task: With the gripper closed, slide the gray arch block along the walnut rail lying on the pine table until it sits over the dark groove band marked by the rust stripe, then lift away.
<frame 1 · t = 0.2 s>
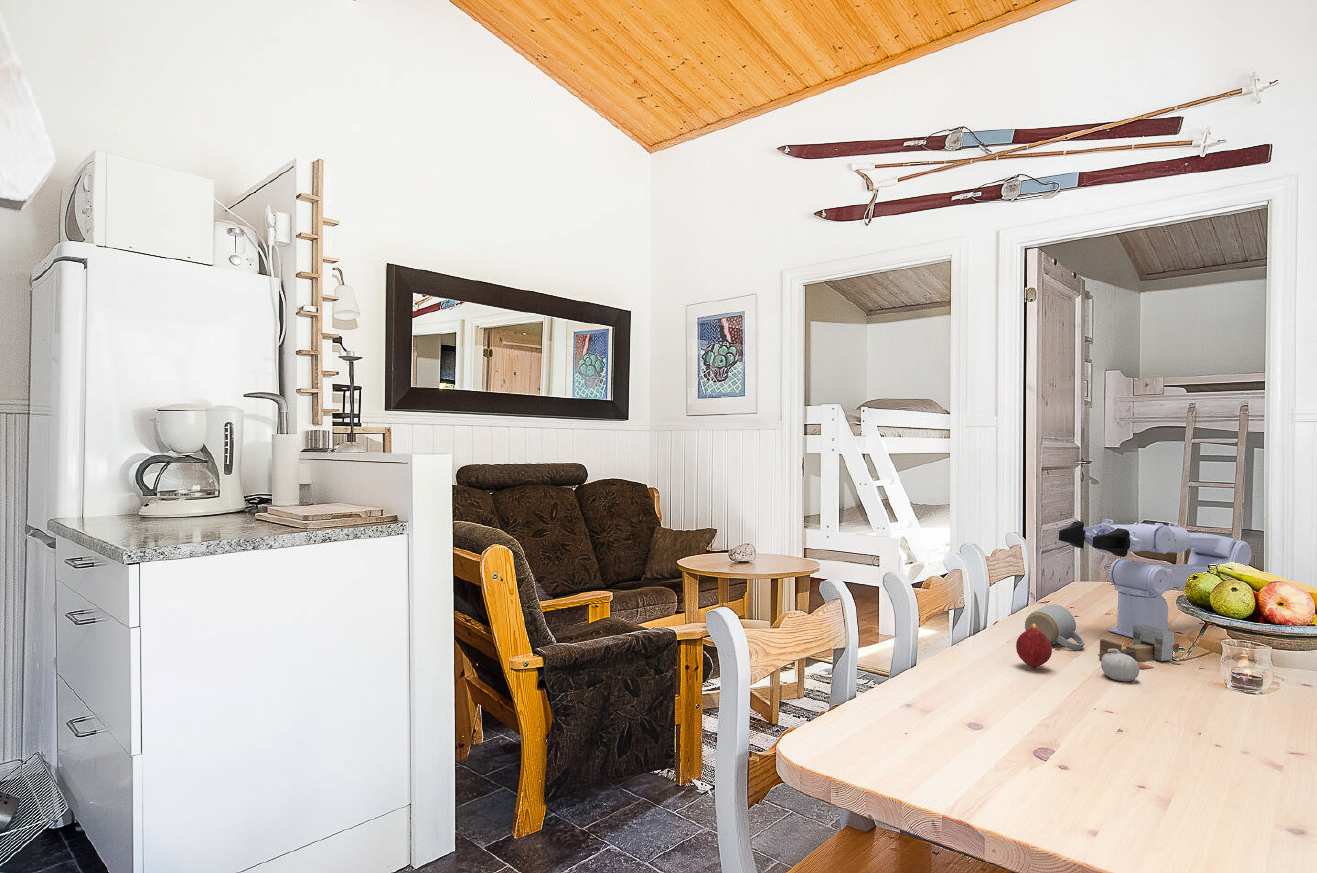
hand: (1076, 538, 155), 21 cm above the table, fingers open, 7 cm apart
gray arch block: (1152, 642, 146), point 3 cm above the table, slide at 0.0 cm
rail: (1143, 659, 145), on the table
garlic: (1118, 680, 133), on the table
onion: (1033, 669, 137), on the table
ceramic mug: (1055, 645, 154), on the table
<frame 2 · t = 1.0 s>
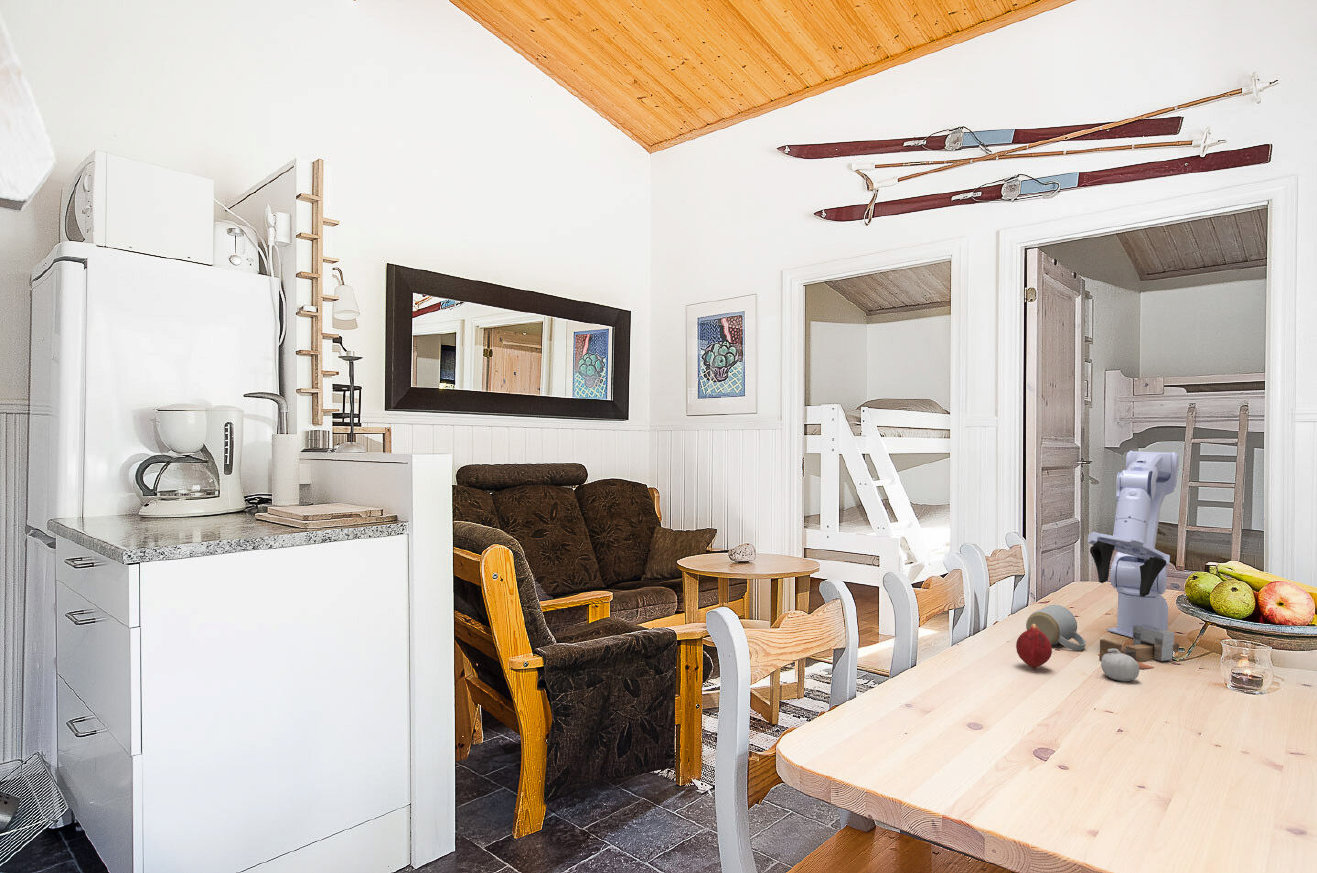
hand: (1123, 588, 147), 13 cm above the table, fingers open, 7 cm apart
nothing on the table moved.
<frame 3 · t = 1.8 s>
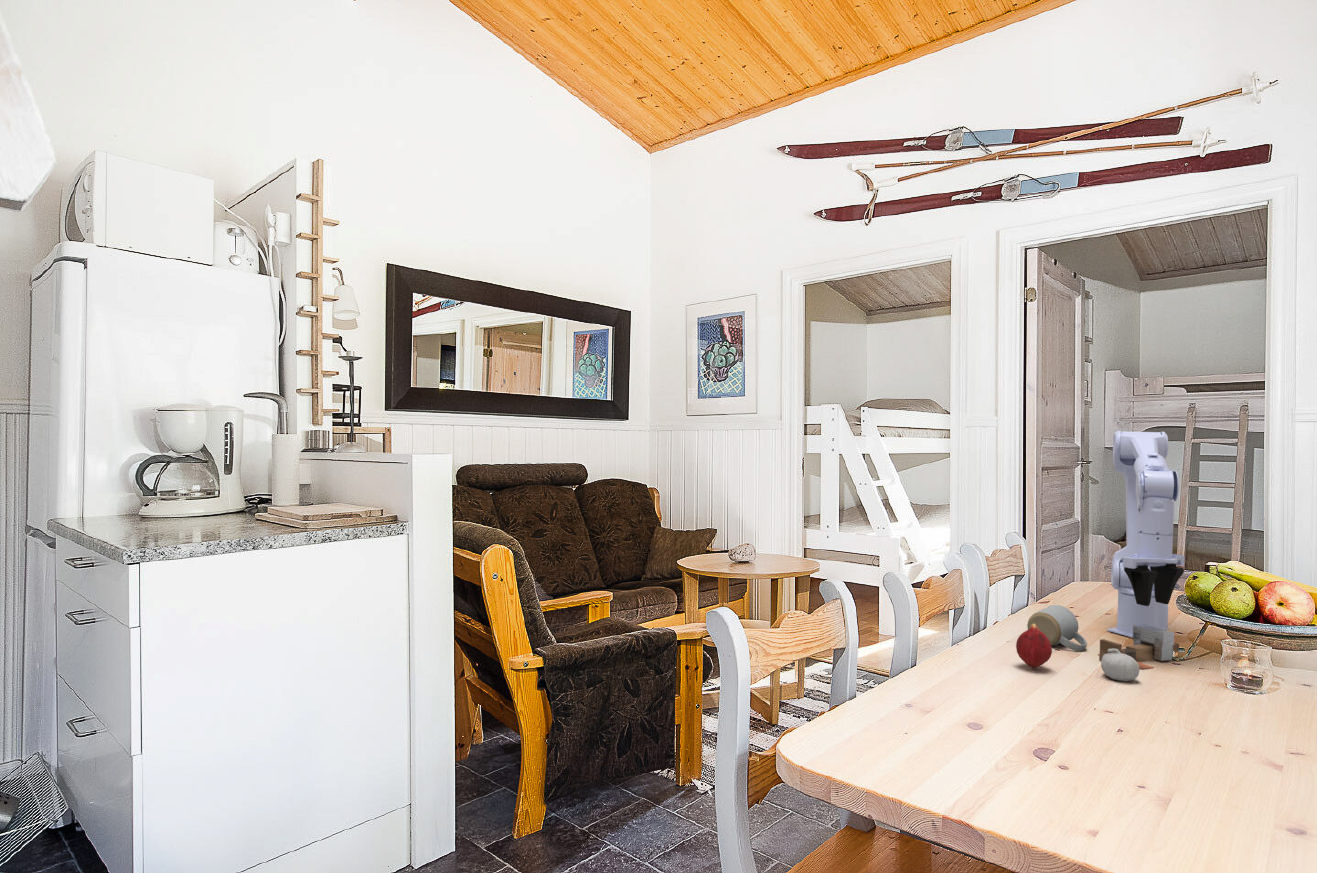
hand: (1152, 604, 146), 10 cm above the table, fingers open, 5 cm apart
nothing on the table moved.
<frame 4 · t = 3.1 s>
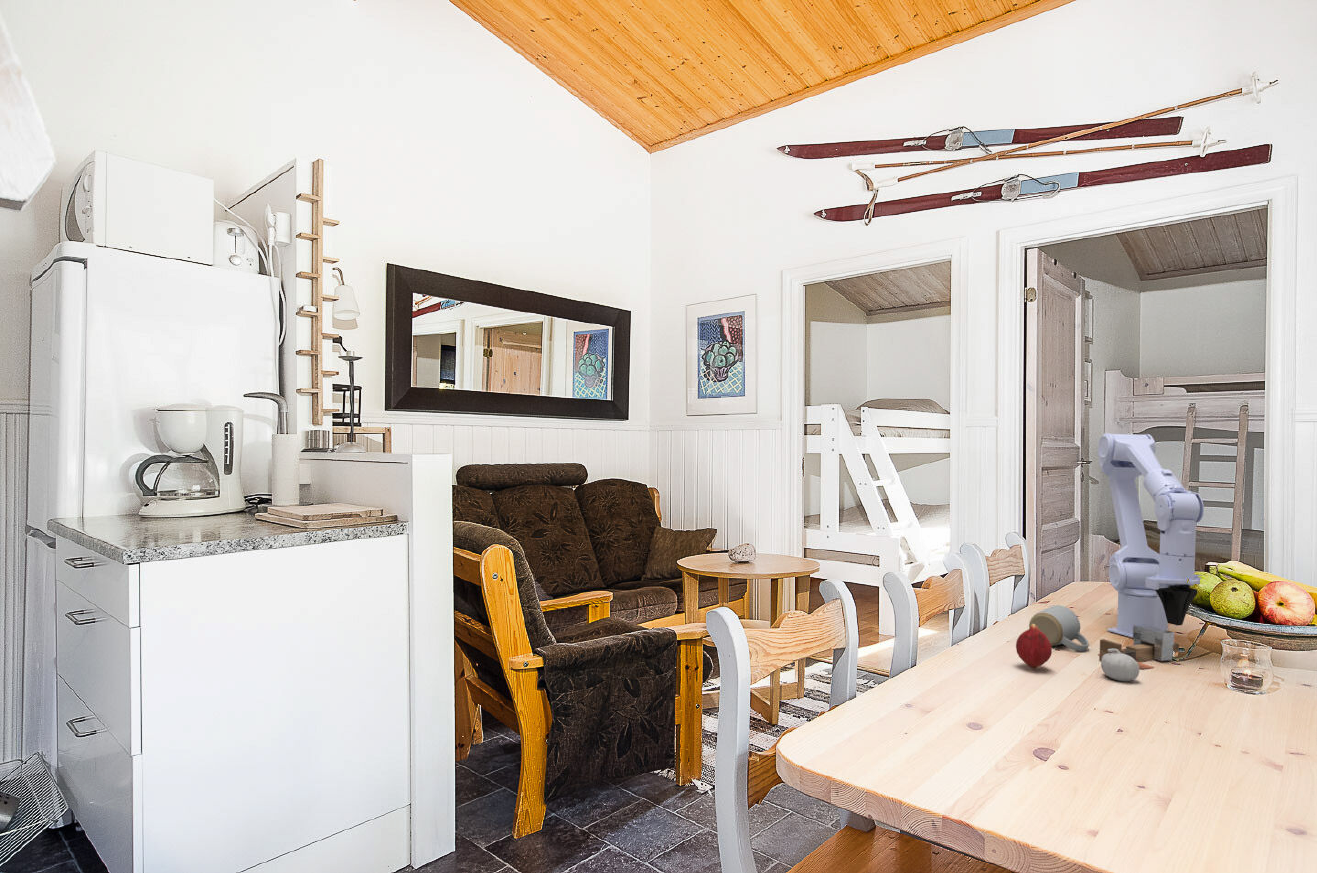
hand: (1174, 624, 148), 6 cm above the table, fingers closed
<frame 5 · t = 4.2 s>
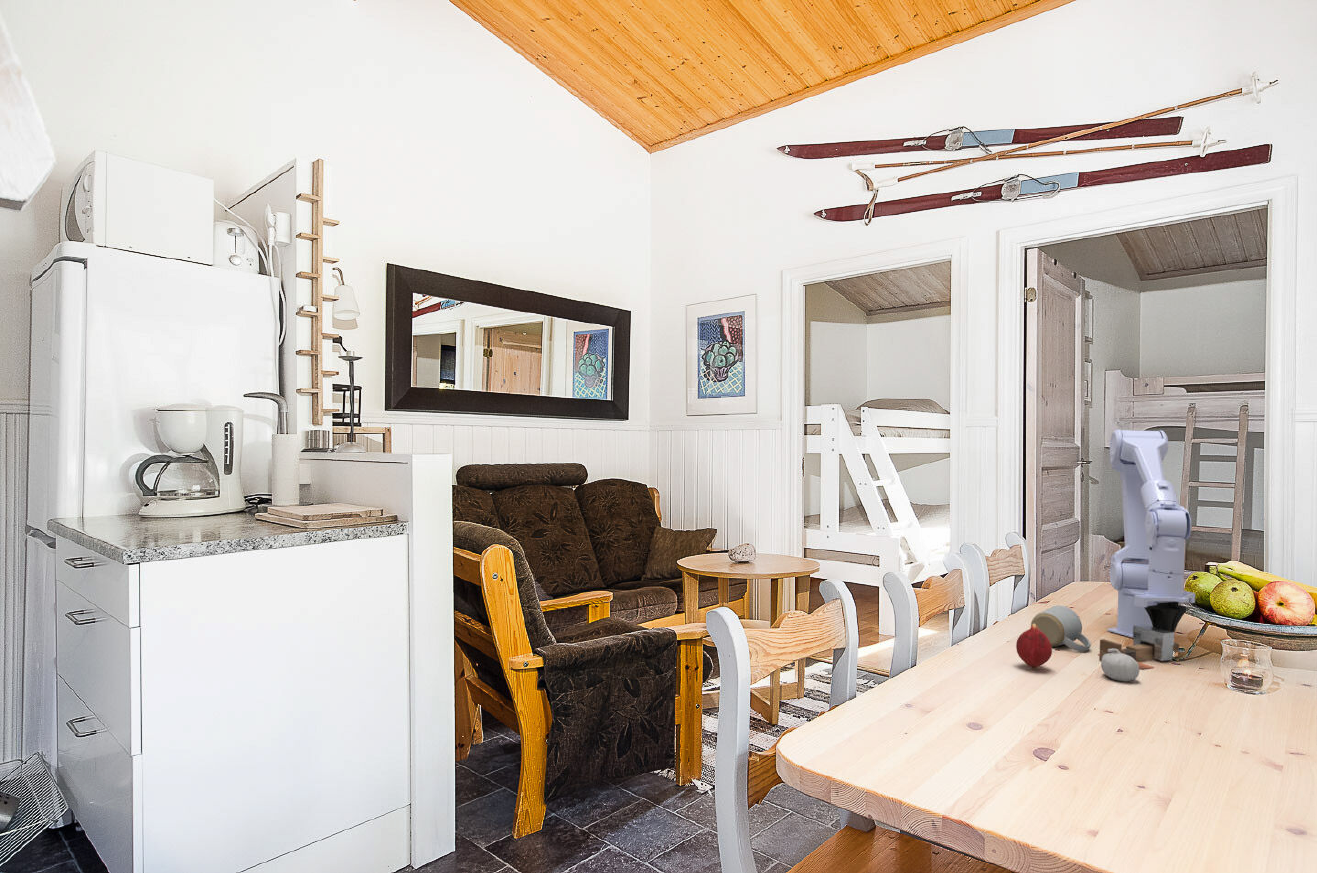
hand: (1163, 641, 147), 3 cm above the table, fingers closed
gray arch block: (1152, 642, 146), point 3 cm above the table, slide at 0.0 cm, touching gripper
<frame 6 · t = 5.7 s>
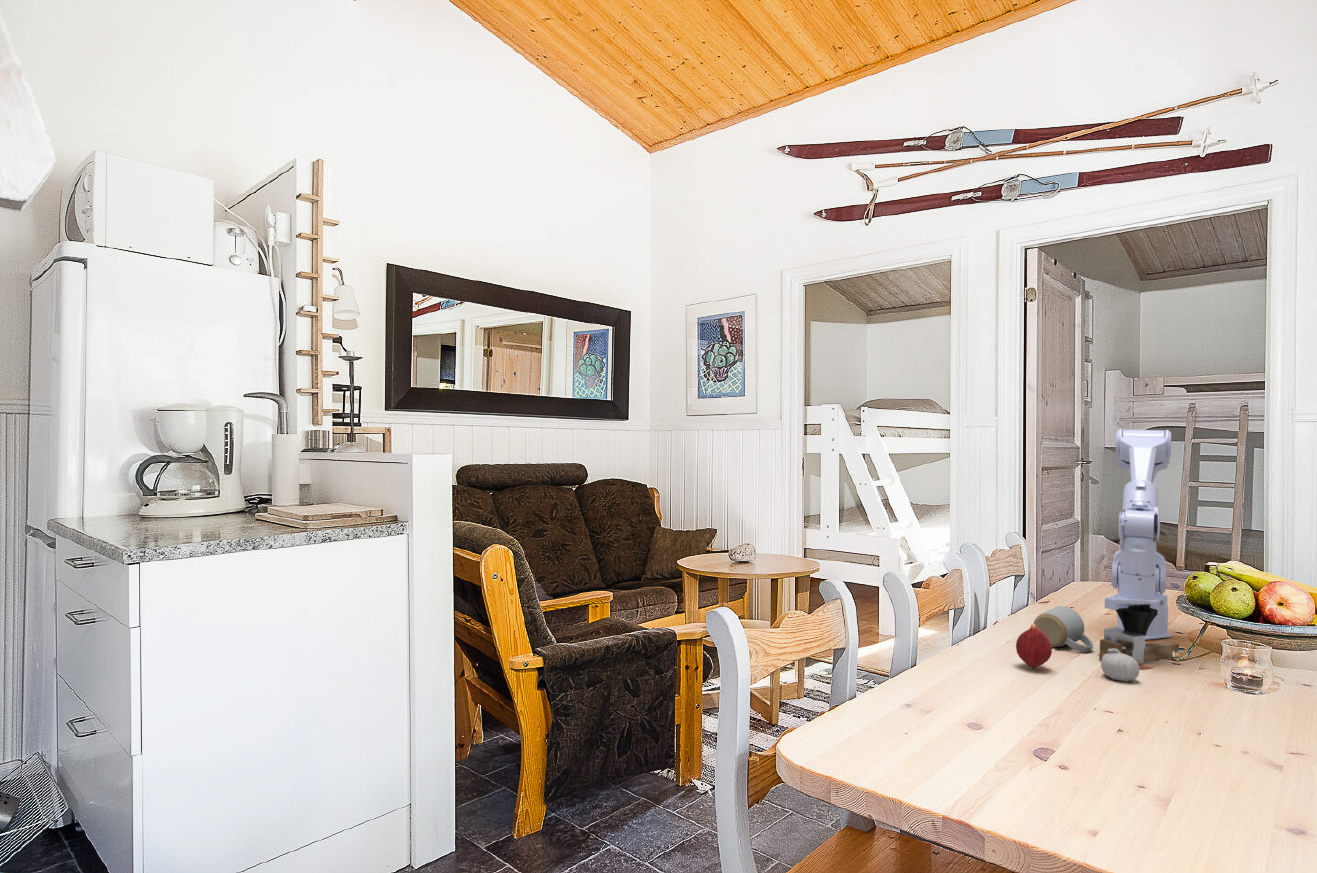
hand: (1134, 645, 144), 3 cm above the table, fingers closed
gray arch block: (1124, 645, 143), point 3 cm above the table, slide at 7.9 cm, touching gripper
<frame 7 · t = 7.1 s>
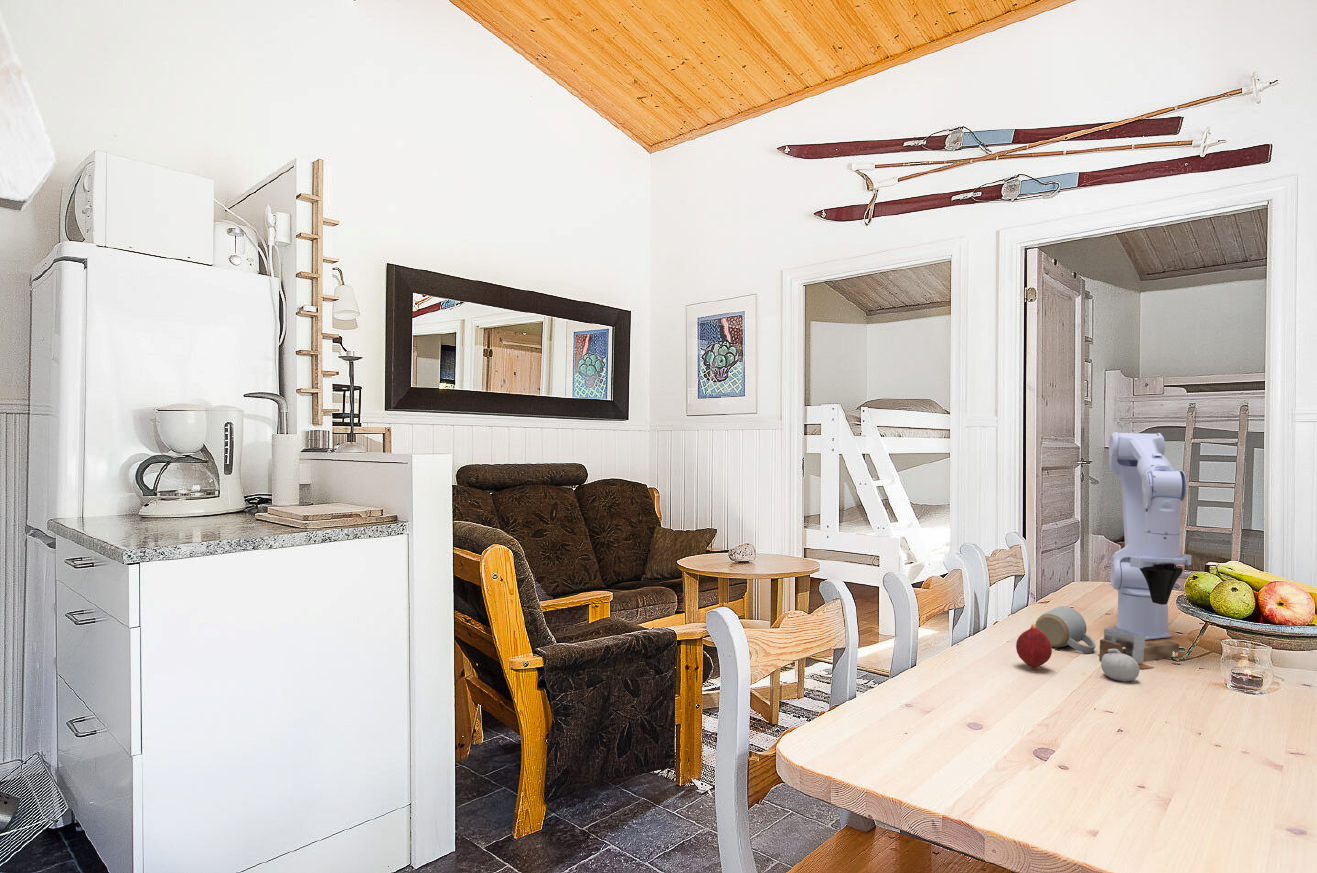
hand: (1159, 603, 146), 10 cm above the table, fingers closed
gray arch block: (1124, 645, 143), point 3 cm above the table, slide at 7.9 cm
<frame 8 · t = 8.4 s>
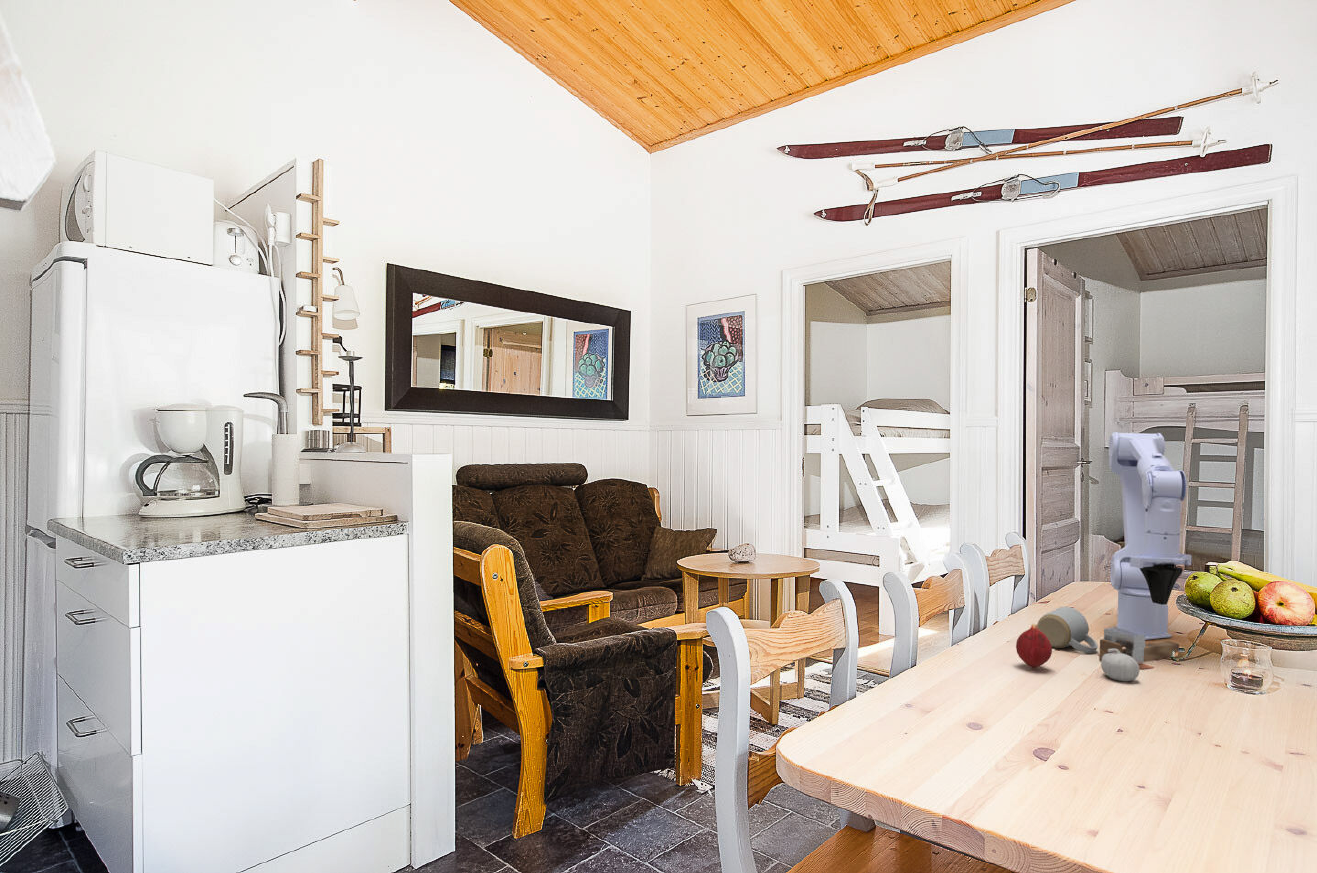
hand: (1159, 603, 146), 10 cm above the table, fingers closed
at the end: gray arch block slide at 7.9 cm; gray arch block 0.4 cm from the target spot on the rail, point 3.0 cm above the rail's base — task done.
